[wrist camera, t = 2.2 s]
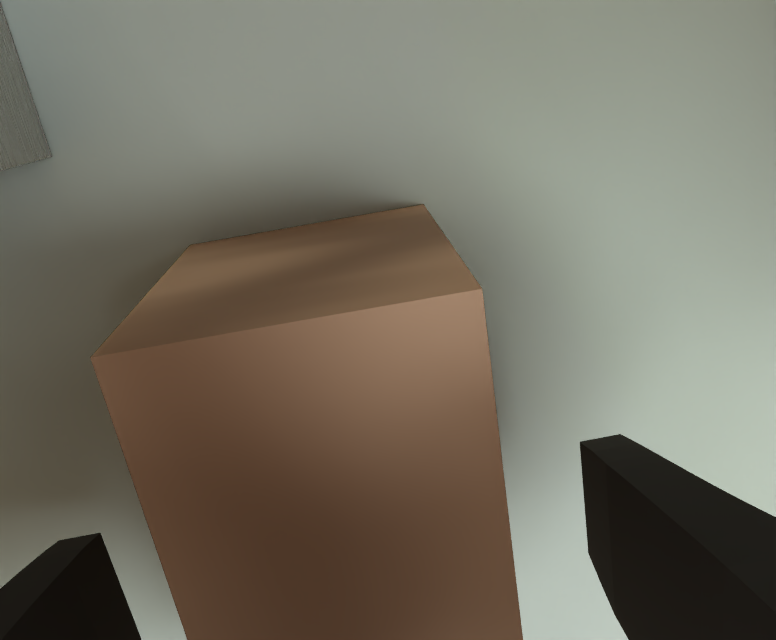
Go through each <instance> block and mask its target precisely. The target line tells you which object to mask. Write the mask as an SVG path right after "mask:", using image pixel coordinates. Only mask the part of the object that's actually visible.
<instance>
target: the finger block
mask: <svg viewBox="0 0 776 640" xmlns="http://www.w3.org/2000/svg"><path fill="white" fill-rule="evenodd" d="M90 358H91V361H92V364H93V367H94V370H95V373H96V376H97V379H98V382H99V385H100V388H101V390H102V393H103V396H104V399H105V402H106V405H107V408H108V411H109V414H110V417H111V419H112V422H113V425H114V428H115V431H116V434H117V437H118V440H119V443H120V446H121V448H122V451H123V454H124V457H125V460H126V463H127V466H128V469H129V472H130V475H131V477H132V480H133V483H134V486H135V489H136V492H137V495H138V498H139V501H140V504H141V506H142V509H143V512H144V515H145V518H146V521H147V524H148V527H149V530H150V533H151V535H152V538H153V541H154V544H155V547H156V550H157V553H158V556H159V559H160V562H161V564H162V567H163V570H164V573H165V576H166V579H167V582H168V585H169V588H170V591H171V594H172V596H173V599H174V602H175V605H176V608H177V611H178V614H179V617H180V620H181V623H182V625H183V628H184V631H185V634H186V637H187V640H523V636H522V627H521V619H520V610H519V602H518V593H517V584H516V576H515V567H514V559H513V550H512V541H511V533H510V524H509V516H508V507H507V498H506V490H505V481H504V473H503V464H502V455H501V447H500V438H499V430H498V421H497V413H496V404H495V395H494V387H493V378H492V370H491V361H490V352H489V344H488V335H487V327H486V318H485V309H484V301H483V292H482V288H481V286H480V285H479V284H478V282H477V281H476V279H475V278H474V276H473V275H472V273H471V272H470V271H469V269H468V268H467V266H466V265H465V263H464V262H463V261H462V259H461V258H460V256H459V255H458V253H457V252H456V250H455V249H454V248H453V246H452V245H451V243H450V242H449V240H448V239H447V237H446V236H445V235H444V233H443V232H442V230H441V229H440V227H439V226H438V225H437V223H436V222H435V220H434V219H433V217H432V216H431V214H430V213H429V212H428V210H427V209H426V207H425V206H424V204H422V205H416V206H411V207H405V208H399V209H393V210H388V211H382V212H376V213H370V214H365V215H359V216H353V217H347V218H342V219H336V220H330V221H324V222H319V223H313V224H307V225H301V226H296V227H290V228H284V229H278V230H273V231H267V232H261V233H255V234H250V235H244V236H238V237H232V238H227V239H221V240H215V241H209V242H204V243H198V244H192V245H190V246H189V247H188V248H187V249H186V250H185V251H184V252H183V254H182V255H181V256H180V257H179V258H178V259H177V260H176V261H175V263H174V264H173V265H172V266H171V267H170V268H169V269H168V270H167V272H166V273H165V274H164V275H163V276H162V277H161V278H160V279H159V281H158V282H157V283H156V284H155V285H154V286H153V287H152V288H151V290H150V291H149V292H148V293H147V294H146V295H145V296H144V297H143V299H142V300H141V301H140V302H139V303H138V304H137V305H136V306H135V308H134V309H133V310H132V311H131V312H130V313H129V314H128V316H127V317H126V318H125V319H124V320H123V321H122V322H121V323H120V325H119V326H118V327H117V328H116V329H115V330H114V331H113V332H112V334H111V335H110V336H109V337H108V338H107V339H106V340H105V341H104V343H103V344H102V345H101V346H100V347H99V348H98V349H97V350H96V352H95V353H94V354H93V355H92V356H91V357H90Z"/></svg>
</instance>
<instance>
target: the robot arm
mask: <svg viewBox="0 0 776 640" xmlns="http://www.w3.org/2000/svg"><path fill="white" fill-rule="evenodd" d="M580 450H581V463H582V476H583V489H584V502H585V515H586V527H587V540H588V553H589V556H590V558H591V560H592V563H593V565H594V568H595V570H596V572H597V575H598V577H599V580H600V582H601V584H602V587H603V589H604V591H605V594H606V596H607V598H608V600H609V603H610V605H611V607H612V610H613V612H614V614H615V616H616V618H617V620H618V621H619V623H620V625H621V627H622V629H623V630H624V632H625V634H626V636H627V637H628V639H629V640H776V517H774V516H772V515H770V514H768V513H766V512H764V511H762V510H760V509H758V508H756V507H754V506H752V505H750V504H748V503H746V502H744V501H742V500H740V499H738V498H736V497H735V496H733V495H731V494H729V493H727V492H725V491H723V490H721V489H719V488H718V487H716V486H714V485H712V484H710V483H708V482H706V481H705V480H703V479H701V478H699V477H697V476H695V475H694V474H692V473H690V472H688V471H686V470H685V469H683V468H681V467H679V466H678V465H676V464H674V463H672V462H670V461H669V460H667V459H665V458H663V457H661V456H660V455H658V454H656V453H654V452H653V451H651V450H649V449H647V448H645V447H644V446H642V445H640V444H638V443H636V442H634V441H632V440H631V439H629V438H627V437H625V436H623V435H621V434H619V435H613V436H608V437H603V438H598V439H592V440H587V441H582V442H580ZM0 640H141V637H140V634H139V632H138V629H137V627H136V624H135V621H134V619H133V616H132V614H131V611H130V609H129V606H128V603H127V601H126V598H125V596H124V593H123V590H122V588H121V585H120V583H119V580H118V577H117V575H116V572H115V570H114V567H113V564H112V562H111V559H110V557H109V554H108V552H107V549H106V546H105V544H104V541H103V539H102V536H101V533H96V534H91V535H85V536H80V537H75V538H70V539H64V540H59V541H58V542H57V543H55V544H54V545H53V546H51V547H50V548H48V549H47V550H46V551H45V552H43V553H42V554H41V555H40V556H38V557H37V558H36V559H35V560H33V561H32V562H31V563H30V564H29V565H27V566H26V567H25V568H24V569H23V570H22V571H20V572H19V573H18V574H17V575H16V576H15V577H13V578H12V579H11V580H10V581H9V582H8V583H6V584H5V585H4V586H3V587H2V588H1V589H0Z"/></svg>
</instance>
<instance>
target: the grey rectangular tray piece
mask: <svg viewBox="0 0 776 640" xmlns="http://www.w3.org/2000/svg"><path fill="white" fill-rule="evenodd" d="M49 157H52V155H51V152H50V149H49V146H48V143H47V140H46V137H45V134H44V131H43V128H42V125H41V122H40V119H39V116H38V113H37V110H36V107H35V104H34V102H33V99H32V96H31V93H30V90H29V87H28V84H27V81H26V78H25V75H24V72H23V69H22V66H21V63H20V60H19V57H18V54H17V51H16V48H15V45H14V42H13V39H12V36H11V33H10V30H9V27H8V24H7V21H6V18H5V16H4V13H3V10H2V7H1V4H0V171H2V170H5V169H9V168H13V167H16V166H20V165H24V164H27V163H31V162H35V161H38V160H42V159H46V158H49Z"/></svg>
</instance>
